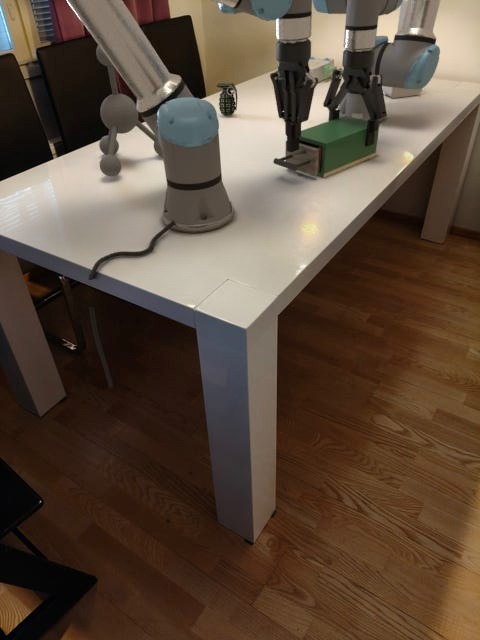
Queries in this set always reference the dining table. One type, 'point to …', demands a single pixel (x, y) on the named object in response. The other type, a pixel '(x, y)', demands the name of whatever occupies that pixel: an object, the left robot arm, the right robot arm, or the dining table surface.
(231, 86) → the grenade
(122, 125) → the molecular model
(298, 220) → the dining table surface
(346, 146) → the cabinet
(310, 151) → the drawer
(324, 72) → the decorative block
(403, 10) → the electronic device
